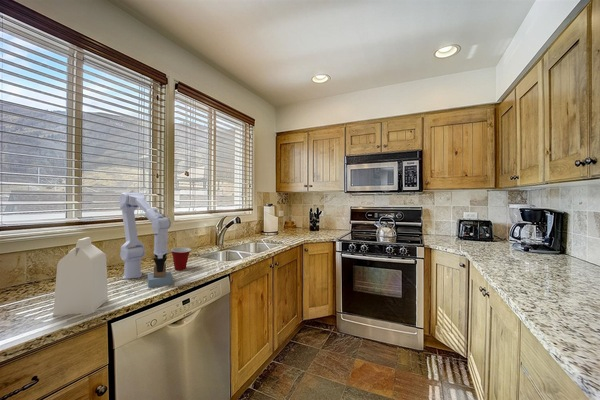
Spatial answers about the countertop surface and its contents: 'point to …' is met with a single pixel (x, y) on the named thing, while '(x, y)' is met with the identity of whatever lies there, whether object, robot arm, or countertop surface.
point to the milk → (81, 280)
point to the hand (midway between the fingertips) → (160, 269)
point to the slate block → (160, 280)
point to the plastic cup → (180, 257)
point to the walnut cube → (159, 274)
